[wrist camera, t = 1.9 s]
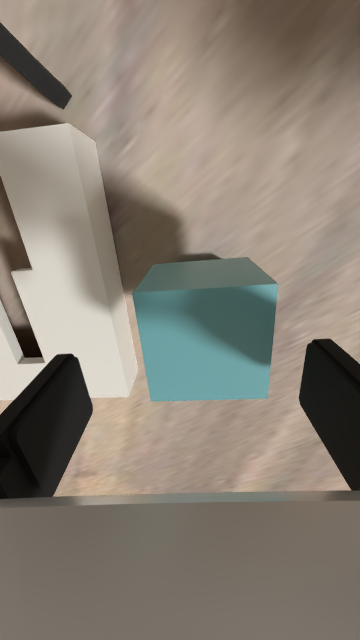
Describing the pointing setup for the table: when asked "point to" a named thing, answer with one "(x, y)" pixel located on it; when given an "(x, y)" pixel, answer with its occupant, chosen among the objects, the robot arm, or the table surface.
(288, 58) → the table surface
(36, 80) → the black striped sneaker
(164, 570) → the robot arm
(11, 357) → the keyhole deck
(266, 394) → the slider
